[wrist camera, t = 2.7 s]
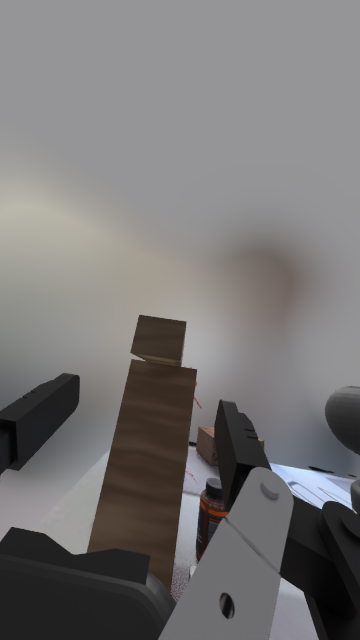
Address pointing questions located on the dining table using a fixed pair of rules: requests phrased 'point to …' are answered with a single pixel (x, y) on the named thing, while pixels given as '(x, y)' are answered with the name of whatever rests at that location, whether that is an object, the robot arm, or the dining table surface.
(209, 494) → the supplement bottle
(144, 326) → the brown wooden bar
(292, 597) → the dining table surface
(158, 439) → the stand
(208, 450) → the tissue box cover
